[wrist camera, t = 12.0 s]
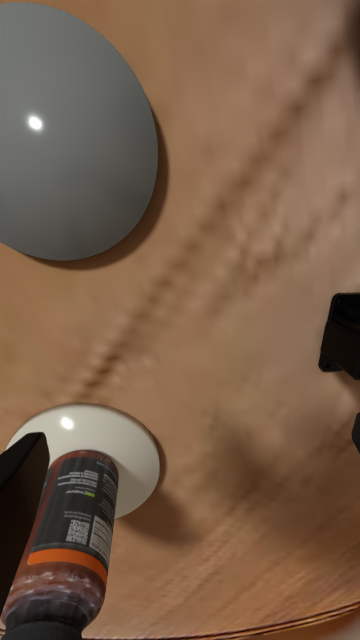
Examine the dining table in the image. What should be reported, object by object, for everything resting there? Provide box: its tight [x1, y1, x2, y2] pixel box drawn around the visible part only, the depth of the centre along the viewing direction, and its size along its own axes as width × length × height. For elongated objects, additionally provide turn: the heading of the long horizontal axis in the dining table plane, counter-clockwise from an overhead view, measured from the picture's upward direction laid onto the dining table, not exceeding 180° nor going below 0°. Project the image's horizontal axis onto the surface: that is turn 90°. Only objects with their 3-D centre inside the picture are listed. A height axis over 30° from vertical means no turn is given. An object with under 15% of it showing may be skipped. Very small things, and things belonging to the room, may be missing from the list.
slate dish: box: [0, 2, 158, 261], centre depth 16 cm, size 12×12×1 cm
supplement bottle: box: [0, 450, 119, 640], centre depth 19 cm, size 6×6×11 cm
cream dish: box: [6, 403, 160, 519], centre depth 24 cm, size 13×13×1 cm
